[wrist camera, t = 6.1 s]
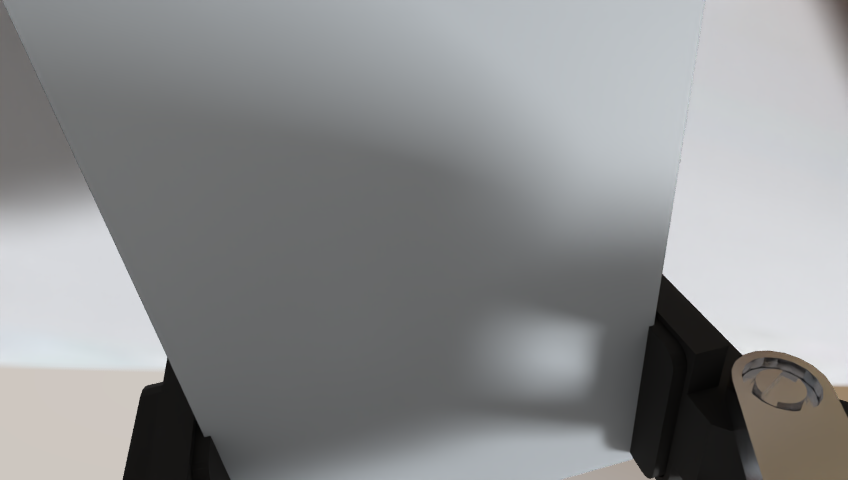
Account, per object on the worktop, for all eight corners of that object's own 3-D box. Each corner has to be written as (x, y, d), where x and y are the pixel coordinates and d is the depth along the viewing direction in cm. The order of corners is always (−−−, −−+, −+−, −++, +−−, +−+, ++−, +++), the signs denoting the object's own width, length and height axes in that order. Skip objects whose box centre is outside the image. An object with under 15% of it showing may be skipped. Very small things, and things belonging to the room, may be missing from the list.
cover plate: (620, -495, 6) (813, -680, 4) (571, 361, 13) (632, 459, 11) (-87, -471, 5) (-321, -697, 3) (261, 440, 12) (263, 563, 10)
